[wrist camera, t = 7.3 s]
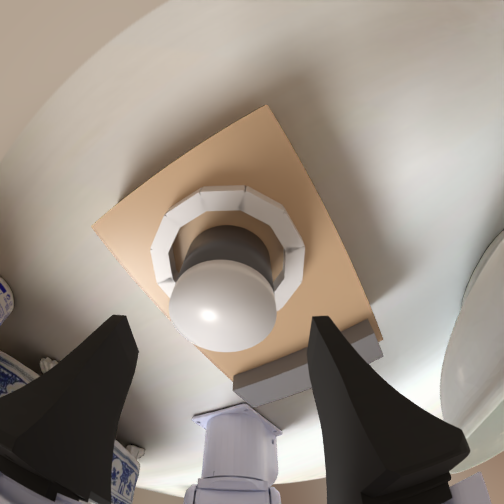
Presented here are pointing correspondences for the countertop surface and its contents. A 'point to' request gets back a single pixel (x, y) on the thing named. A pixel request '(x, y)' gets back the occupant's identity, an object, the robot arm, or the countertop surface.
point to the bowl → (478, 362)
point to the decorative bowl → (124, 460)
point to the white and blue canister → (5, 301)
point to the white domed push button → (224, 291)
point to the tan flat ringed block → (261, 224)
